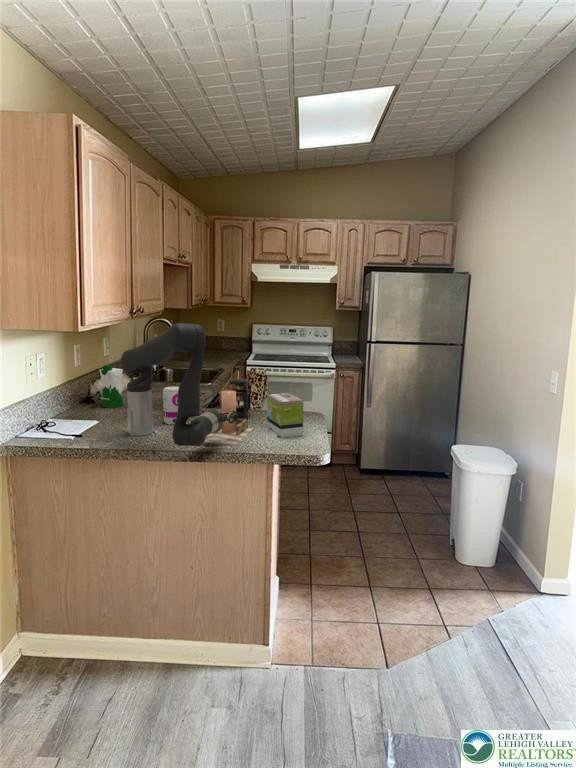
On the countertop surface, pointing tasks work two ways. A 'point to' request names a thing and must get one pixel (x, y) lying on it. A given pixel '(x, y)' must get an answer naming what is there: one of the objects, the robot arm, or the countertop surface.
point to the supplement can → (170, 404)
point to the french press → (244, 411)
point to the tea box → (285, 414)
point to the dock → (229, 434)
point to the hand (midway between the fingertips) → (223, 412)
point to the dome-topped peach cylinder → (228, 410)
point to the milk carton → (111, 387)
